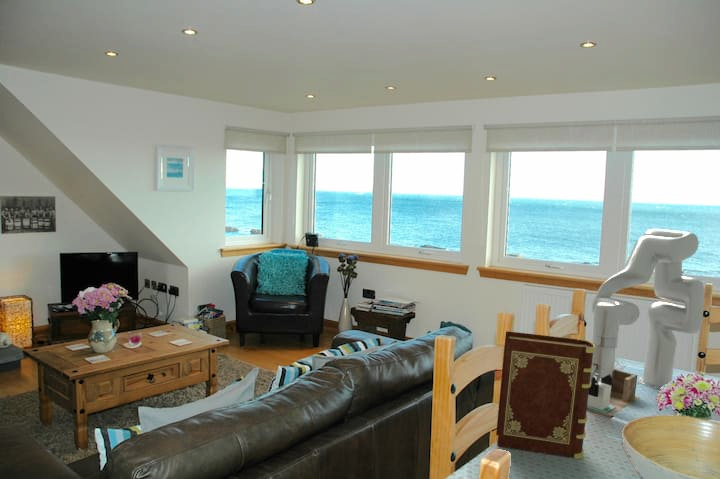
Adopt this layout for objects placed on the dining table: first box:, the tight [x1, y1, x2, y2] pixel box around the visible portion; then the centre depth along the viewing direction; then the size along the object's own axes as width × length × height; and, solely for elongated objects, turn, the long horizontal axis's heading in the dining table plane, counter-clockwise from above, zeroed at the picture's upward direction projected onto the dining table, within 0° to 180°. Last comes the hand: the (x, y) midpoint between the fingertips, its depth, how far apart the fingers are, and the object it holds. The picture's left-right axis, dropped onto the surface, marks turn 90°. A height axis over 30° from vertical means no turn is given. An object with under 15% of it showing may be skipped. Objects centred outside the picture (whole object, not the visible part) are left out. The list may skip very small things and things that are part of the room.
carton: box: [587, 381, 611, 410], centre depth 179 cm, size 6×5×7 cm
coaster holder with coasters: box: [587, 368, 641, 419], centre depth 184 cm, size 25×12×8 cm, turn 134°
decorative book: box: [495, 331, 595, 460], centre depth 148 cm, size 22×8×30 cm, turn 78°
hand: (599, 392), depth 179 cm, fingers open, 9 cm apart
